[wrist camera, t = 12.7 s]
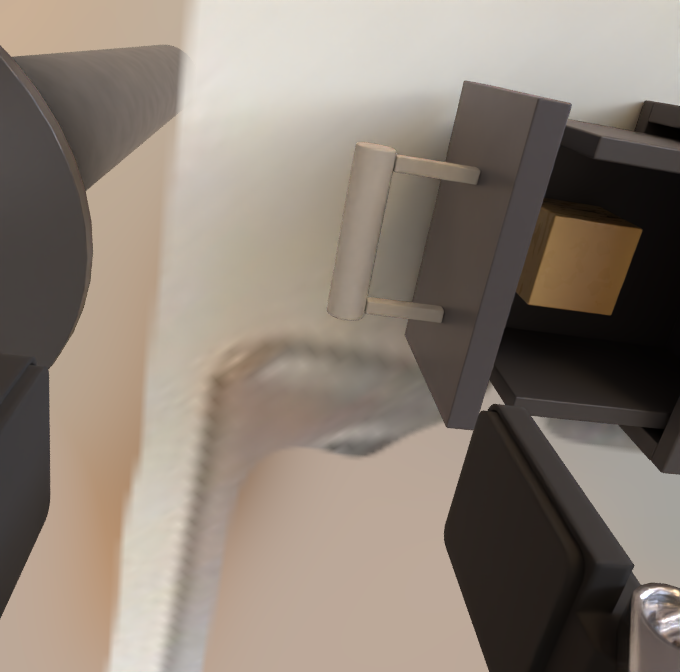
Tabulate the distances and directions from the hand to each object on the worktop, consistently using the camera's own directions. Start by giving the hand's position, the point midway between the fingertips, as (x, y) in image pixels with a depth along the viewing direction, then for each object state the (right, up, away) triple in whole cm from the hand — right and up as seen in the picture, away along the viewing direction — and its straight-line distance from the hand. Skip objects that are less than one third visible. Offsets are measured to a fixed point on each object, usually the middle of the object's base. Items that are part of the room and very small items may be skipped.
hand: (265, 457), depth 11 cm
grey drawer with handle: (+10, +7, +21) cm, 24 cm away
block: (+11, +7, +20) cm, 24 cm away
